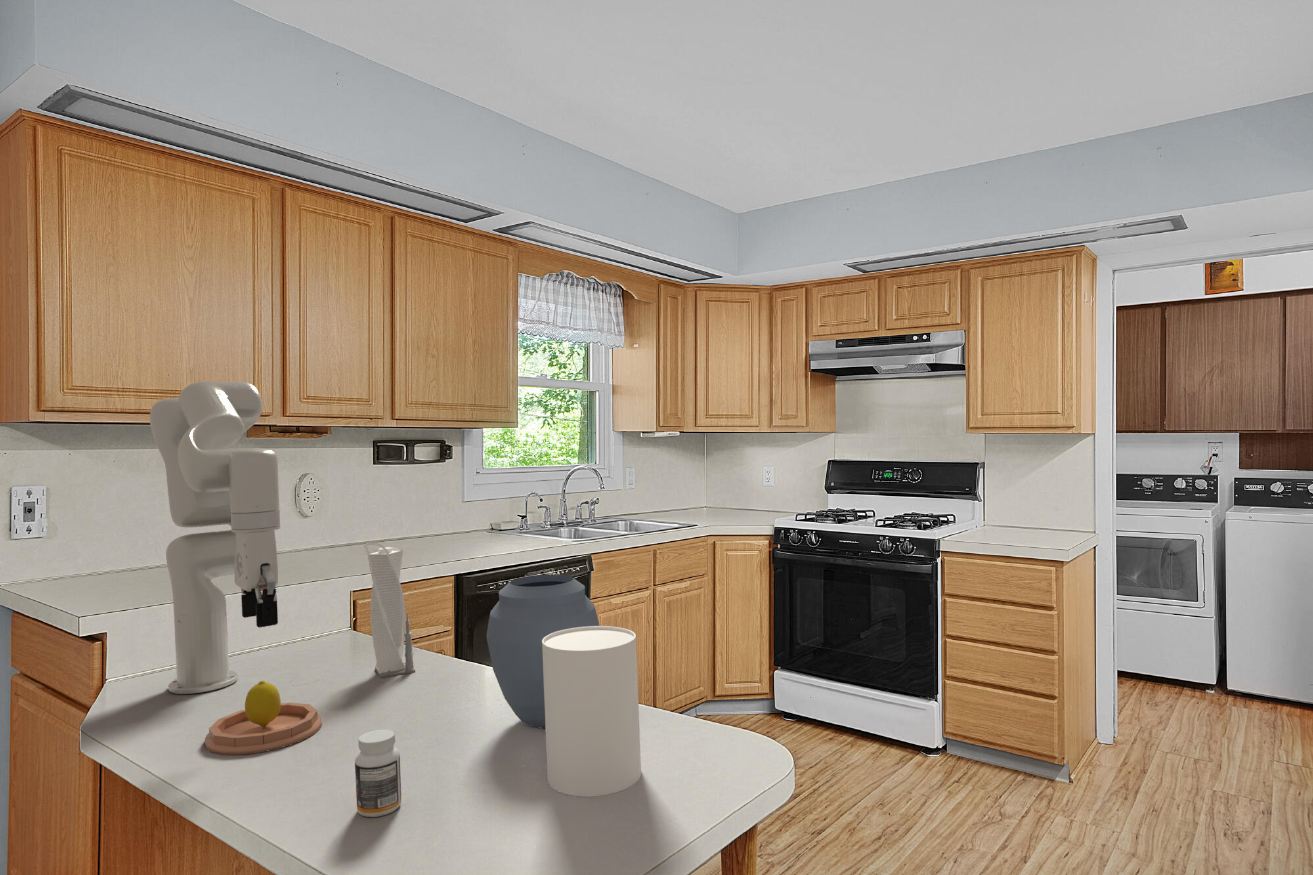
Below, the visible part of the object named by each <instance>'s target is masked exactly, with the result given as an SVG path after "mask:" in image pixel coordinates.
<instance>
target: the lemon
mask: <svg viewBox="0 0 1313 875" xmlns="http://www.w3.org/2000/svg"><path fill="white" fill-rule="evenodd" d="M281 701H282V700H281V695H280V692H279V690H278V688H277V687H276V686H275V685H274V684H272V683H270V682H266V681H265V680H260V681H259V682H258V683H257V684H255V685H253V686H252V687H251V688H250V689H249V690H248V691H247V695H246V697H245V701H244V710H245V712H246V715H247V717H248V719H249V720H250V721H251V722H252V723H254V724H258V725H260V726H261V727H266V726H267V725H268V723H270V722H271V721H273V720H274V719H275V718H276V717H277V715H278V713H279V711H280V706H281V703H282V702H281Z"/></svg>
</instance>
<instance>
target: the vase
mask: <svg viewBox="0 0 1313 875" xmlns="http://www.w3.org/2000/svg"><path fill="white" fill-rule="evenodd" d="M498 599H499V600H498V601H497V603H496V604H495V605H494V606H493V608H492V609H491V610H490V613H489V618H488V623H487V631H486V635H485V636H486V641H487V642H486V643H487V647H488V651H489V656H490V661H491V666H492V671H493V673H494V675H495V678H496V681H497V683H498V686H499V688H500V690H501V692H502V693H501V694H502V695H503V698H504V700H505V701H506V703H507V705H508V706H509V707H510V709H511V710H512V712H513V713H514V714H515V716H516V717H517V718H518V719H519V721H521V722H522V723H523V724H525V725H527V726H529V727H532V728H538V729H546V726H545V701H544V676H543V651H542V640H543V638H544V637H546V636H547V635H549V634H551V633H554V632H557V631H561V630H565V629H570V628H577V627H588V626H601V625H600V622H599V618H598V614H597V609H596V606H595V604H594V602H592V600H590V599H589V598H588V597H587V595H586V586H585V585H584V584H582V583H581V582H580V581H578V580H577V579H575V578H574V577H573V576H570V575H565V574H538V575H537V574H534V575H527V576H521V577H518V578H515V579H511V580H510V581H509V582H508V583H507V584H506V585H505V586H504V587H503V588H501V589H500V590H499V591H498Z"/></svg>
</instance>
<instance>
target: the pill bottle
mask: <svg viewBox="0 0 1313 875" xmlns="http://www.w3.org/2000/svg"><path fill="white" fill-rule="evenodd" d="M395 734H396V733H395V732H394V731H393V730H391V729H376V730H372V731H371V730H370V731H368V732H365V733H363V734H362V735H360V736H359V737H358V739H357V740H358V749H359V751H360V752H359V753H358V754H357V755H356V757H355V758H354V759H355V761H354V770H355V772H354V774H355V794H356V795H355V796H356V797H355V798H356V811H357V813H358V814H359V815H361V816H362V817H366V818H377V817H382V816H387V815H389V814H391V813H393V812H394V811H396V810H397V809H398V808H400V806H401V804H402V781H401V780H402V779H401V778H402V777H401V754H400V751H399V749H398V748H397V747H396V746H395V743H396V735H395Z"/></svg>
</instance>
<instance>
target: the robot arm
mask: <svg viewBox="0 0 1313 875" xmlns="http://www.w3.org/2000/svg"><path fill="white" fill-rule="evenodd" d="M262 412H263V401H262V397H261V393H260V392H259V390H258V389H257V387H256V386H254V385H253V384H251V383H250V382H246V381H214V380H213V381H212V380H211V381H208V380H207V381H197V382H193V383H190V384H188V385H187V386H185V388H183V389H182V391H181V392H180V394H179V397H170V398H165V399H161V400H159V401H156V402H155V403H154V404H153V405H152V407H151V408H150V412H149V425H150V430H151V434H152V437H153V440H154V442H155V444H156V447H157V449H158V452H159V453H160V455H161V457H162V460H163V462H164V467H165V473H166V474H165V476H166V485H167V495H168V505H169V513H170V517H171V520H172V522H173V523H174V524H175V526H178V527H180V528H202V527H203V528H204V527H213V526H221V525H222V526H223V525H228V526H230V528H231V529H228V530H221V531H220V530H219V531H218V530H217V531H209V532H207V531H206V532H197V533H190V534H186V535H185V534H184V535H181V536H178V537H175V539H173V540H172V541H170V542H169V544H168V545H167V547H166V550H165V558H166V559H165V560H166V565H167V569H168V573H169V579H170V584H171V591H172V602H173V622H174V642H175V643H174V644H175V645H174V646H175V665H176V668H175V669H176V679H174V680H172V681H171V682H170V683H169V684H168V686H167V687H168V691H169V692H170V693H172V694H177V695H190V694H199V693H201V694H202V693H205V692H211V691H215V690H219V689H222V688H225V687H228V686H230V685H232V684H234V683H235V682H236V681H238V678H239V677H238V673H237V672H236V671H233V670H230V663H229V662H230V661H229V660H230V659H229V638H228V637H229V636H228V634H229V633H228V617H227V615H228V614H227V600H226V596H225V594H224V593H223V591H222V590H221V589H220V588H219V587H218V586H217V585H215V584H214V583H213V582H212V579H215V578H219V577H225V576H234V583H235V585H236V586H237V587H239V589H240V588H241V590H240V591H241V600H240V601H241V616H242V618H244V619H245V618H251V617H255V619H256V621H255V622H256V623H255V625H256V627H257V628H259V629H260V628H266V627H272V626H277V625H278V624H279V615H278V612H279V611H278V596H277V588H276V587H277V585H278V581H279V570H278V569H279V567H278V566H279V565H278V551H277V541H276V533H275V532H276V530H279V529H281V519H280V518H281V516H280V492H279V468H278V467H279V466H278V464H279V463H278V457H277V454H276V452H275V451H273V450H271V449H265V448H261V447H244V448H243V447H242V448H238V447H237V448H234V447H233V446H235V445H236V444H237V443H238V442H239V441H240V440H241V438H242V436H243V434H245V433H246V432H248V430H249V429H250V428H252V427H253V426H254V425H255V424H256V423H257V422H258V421H259V419H260V418H261V415H262Z"/></svg>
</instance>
